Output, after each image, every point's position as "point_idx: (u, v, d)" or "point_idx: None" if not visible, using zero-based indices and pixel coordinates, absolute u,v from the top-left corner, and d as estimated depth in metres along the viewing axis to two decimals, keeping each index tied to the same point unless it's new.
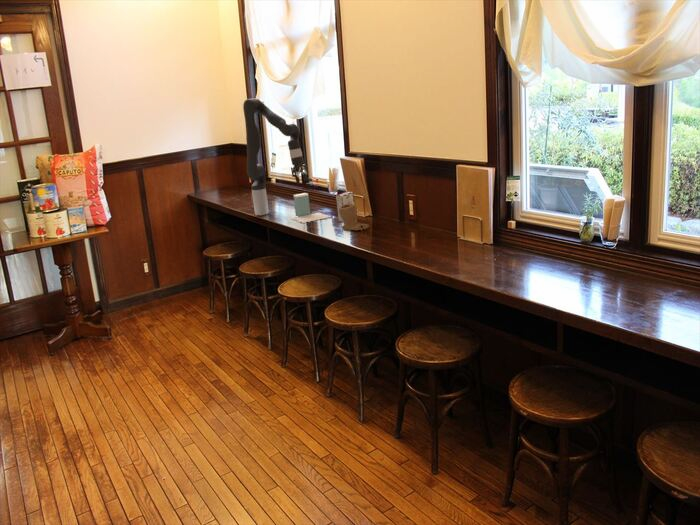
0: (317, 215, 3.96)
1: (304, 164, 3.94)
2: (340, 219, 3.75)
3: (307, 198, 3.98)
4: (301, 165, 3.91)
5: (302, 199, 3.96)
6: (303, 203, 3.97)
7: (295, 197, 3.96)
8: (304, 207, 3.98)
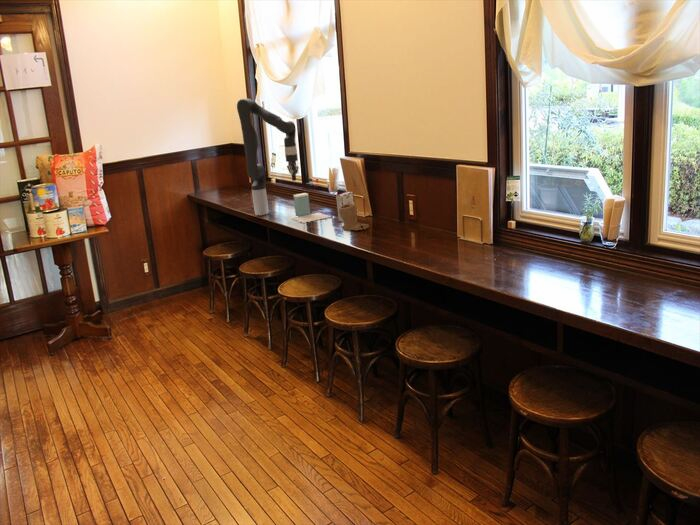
0: (317, 215, 3.96)
1: None
2: (340, 219, 3.75)
3: (307, 198, 3.98)
4: None
5: (302, 199, 3.96)
6: (303, 203, 3.97)
7: (295, 197, 3.96)
8: (304, 207, 3.98)
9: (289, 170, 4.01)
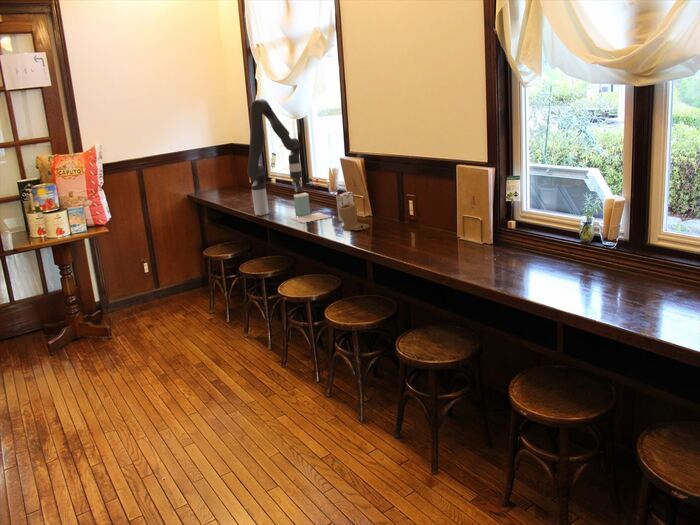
0: (317, 215, 3.96)
1: None
2: (340, 219, 3.75)
3: (307, 198, 3.97)
4: None
5: (302, 199, 3.96)
6: (303, 203, 3.97)
7: (295, 197, 3.96)
8: (304, 207, 3.98)
9: (293, 187, 4.02)
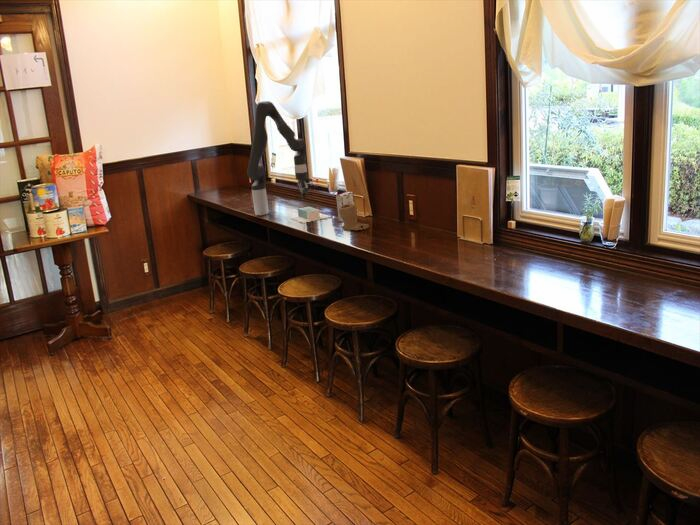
0: None
1: None
2: (340, 219, 3.75)
3: None
4: None
5: None
6: None
7: (307, 215, 3.87)
8: None
9: (299, 188, 3.95)
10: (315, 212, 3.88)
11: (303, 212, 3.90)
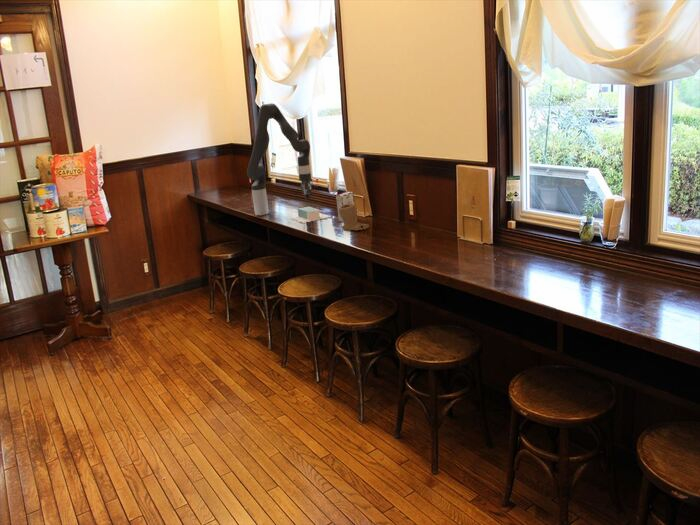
0: None
1: None
2: (340, 219, 3.75)
3: None
4: None
5: None
6: None
7: (307, 215, 3.87)
8: None
9: (302, 189, 3.91)
10: (315, 212, 3.88)
11: (303, 212, 3.90)
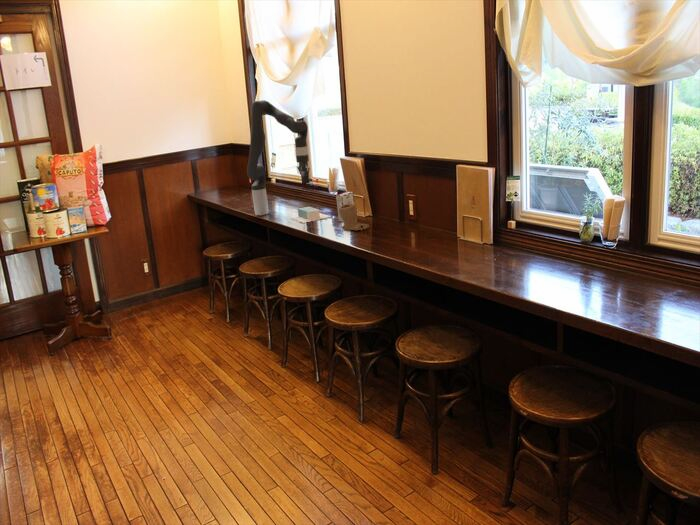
0: None
1: None
2: (340, 219, 3.75)
3: None
4: None
5: None
6: None
7: (307, 215, 3.87)
8: None
9: (300, 171, 3.87)
10: (315, 212, 3.88)
11: (303, 212, 3.90)
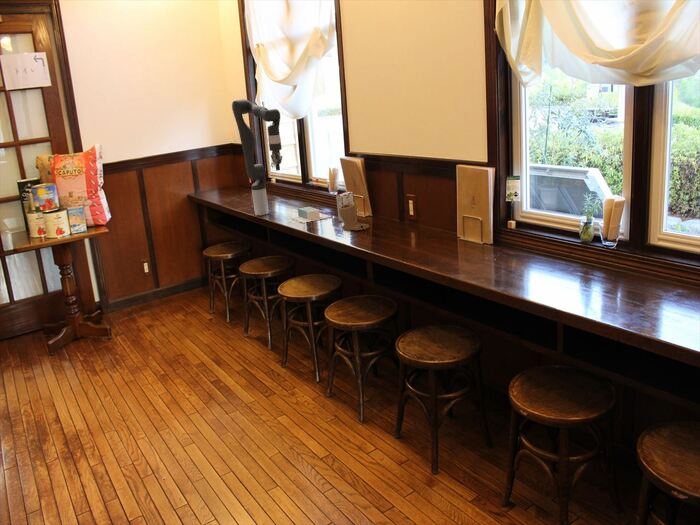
0: None
1: None
2: (340, 219, 3.75)
3: None
4: None
5: None
6: None
7: (307, 215, 3.87)
8: None
9: (273, 160, 3.90)
10: (315, 212, 3.88)
11: (303, 212, 3.90)
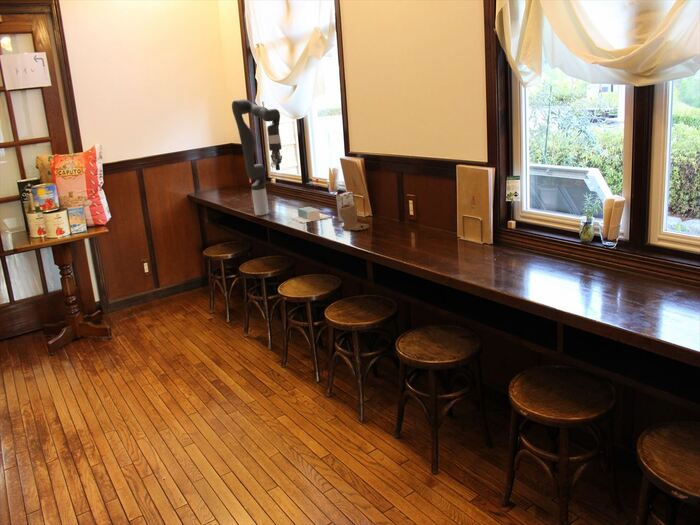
0: None
1: None
2: (340, 219, 3.75)
3: None
4: None
5: None
6: None
7: (307, 215, 3.87)
8: None
9: (273, 159, 3.90)
10: (315, 212, 3.88)
11: (303, 212, 3.90)
